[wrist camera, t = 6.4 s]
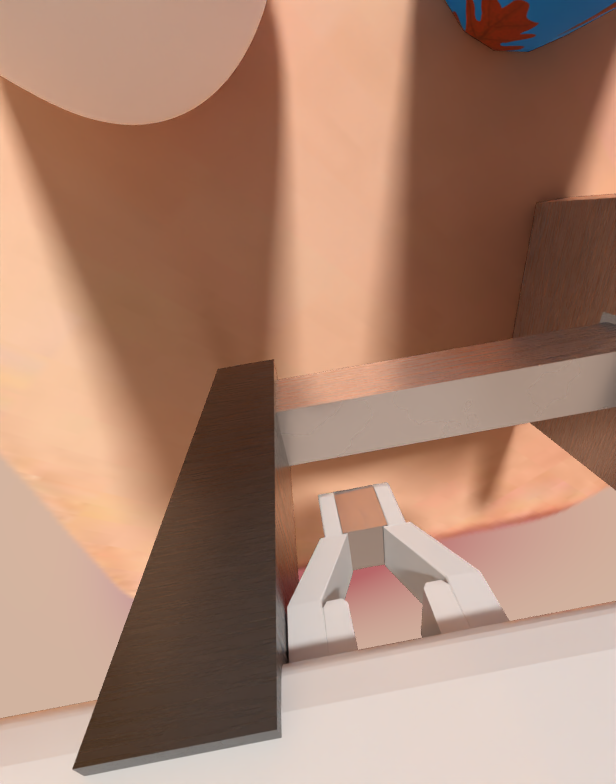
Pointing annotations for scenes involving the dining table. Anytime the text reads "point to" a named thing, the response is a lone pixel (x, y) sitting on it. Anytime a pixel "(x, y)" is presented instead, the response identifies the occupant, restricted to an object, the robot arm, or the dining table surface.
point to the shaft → (292, 524)
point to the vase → (125, 53)
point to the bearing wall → (573, 306)
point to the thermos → (525, 20)
